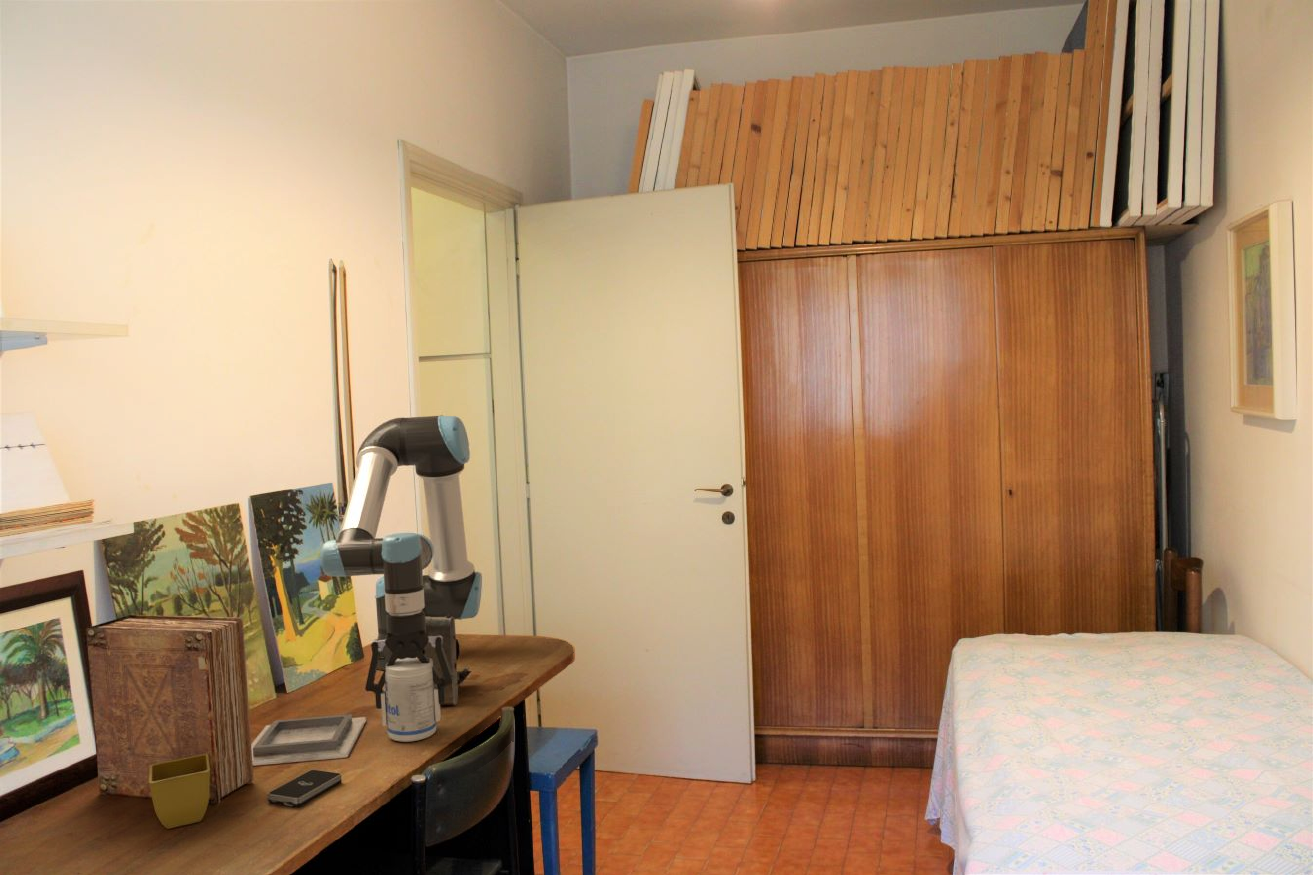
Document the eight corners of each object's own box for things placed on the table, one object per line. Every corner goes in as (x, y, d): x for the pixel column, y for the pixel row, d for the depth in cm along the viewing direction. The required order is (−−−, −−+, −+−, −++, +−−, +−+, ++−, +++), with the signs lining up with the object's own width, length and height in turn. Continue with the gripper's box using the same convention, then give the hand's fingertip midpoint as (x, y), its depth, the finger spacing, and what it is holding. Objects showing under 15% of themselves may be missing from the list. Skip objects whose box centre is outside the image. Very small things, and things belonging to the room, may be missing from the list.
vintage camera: (475, 687, 222) (470, 602, 222) (455, 707, 207) (449, 616, 207) (435, 688, 223) (430, 604, 223) (412, 708, 208) (406, 617, 208)
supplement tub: (378, 736, 191) (374, 664, 190) (418, 722, 198) (414, 652, 197) (407, 747, 185) (402, 672, 184) (447, 731, 192) (443, 660, 191)
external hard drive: (266, 805, 162) (266, 793, 162) (313, 779, 172) (312, 768, 172) (298, 810, 159) (298, 798, 159) (343, 784, 169) (343, 773, 169)
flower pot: (152, 838, 150) (148, 782, 150) (153, 817, 158) (149, 763, 158) (213, 824, 154) (210, 770, 154) (211, 804, 162) (208, 752, 162)
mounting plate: (266, 729, 198) (266, 717, 198) (365, 721, 201) (365, 709, 201) (237, 767, 178) (236, 753, 178) (347, 757, 181) (346, 743, 181)
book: (255, 783, 171) (244, 617, 169) (218, 805, 162) (206, 631, 160) (139, 773, 177) (128, 614, 176) (98, 794, 169) (86, 626, 167)
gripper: (344, 620, 185) (351, 733, 186) (460, 611, 188) (467, 723, 189) (351, 611, 192) (358, 719, 193) (463, 603, 195) (469, 710, 196)
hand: (412, 721), depth 191 cm, fingers closed on supplement tub, 10 cm apart
